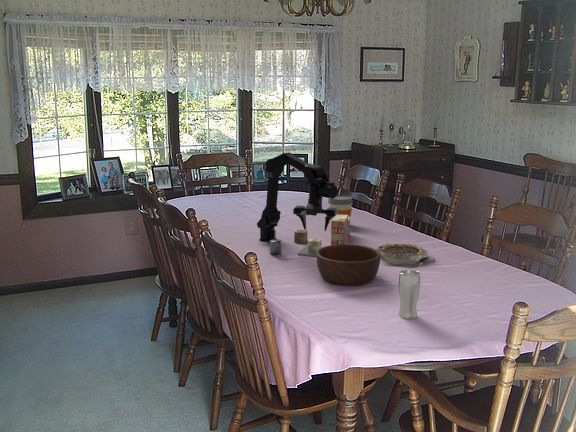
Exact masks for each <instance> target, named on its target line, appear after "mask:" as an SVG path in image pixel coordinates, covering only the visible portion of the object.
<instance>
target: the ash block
mask: <svg viewBox="0 0 576 432" xmlns="http://www.w3.org/2000/svg"><path fill="white" fill-rule="evenodd" d="M322 241H323V240H322V238H318V237H317V238H316V237H315V238H313V237H310V238H309V239H307V246H308V252H317V251H318V250H319V249H320V248H321V247H322V244H323V243H322Z"/></svg>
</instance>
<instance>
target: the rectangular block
mask: <svg viewBox="0 0 576 432" xmlns="http://www.w3.org/2000/svg"><path fill="white" fill-rule="evenodd" d="M293 234H294V235H293V237H294V238H293V239H294V241H293V242H294V243H299V244H300V243H301V244H305V243H306V242H308V229H305V230H304V229H296V230H295V231H294V233H293Z"/></svg>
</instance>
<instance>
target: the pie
mask: <svg viewBox="0 0 576 432" xmlns="http://www.w3.org/2000/svg"><path fill="white" fill-rule="evenodd" d="M376 250H377V251H379V252H380V254H381V260H383V261H384V262H385V263H386V264H391V265H395V266H396V267H399V265H401V266H402V265H403V267H406V266H407V265H415V266H413V268H415V267H416V266H423V265H424V263H423V262H422V261H419V260H423V261H424V262H426V263H428V262H429V263H432V262H434V261H436V260H435V257H434V258H433V259H430V258H429V257H428V251H427V250H425V249H424V248H423V247H421V246H419V245H416V244H410V243H408V244H406V243H389V244H388V243H387V244H383V245H380V246H378V247H377V249H376ZM404 265H405V266H404Z"/></svg>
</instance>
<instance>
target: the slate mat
mask: <svg viewBox="0 0 576 432" xmlns="http://www.w3.org/2000/svg"><path fill="white" fill-rule="evenodd" d="M321 248H322V246H321ZM297 256H303V257H304V256H305V257H315V258H316V252H308V245H305V246H304V247H303V248H302V249H300V250H299V252H298V253H297Z"/></svg>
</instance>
